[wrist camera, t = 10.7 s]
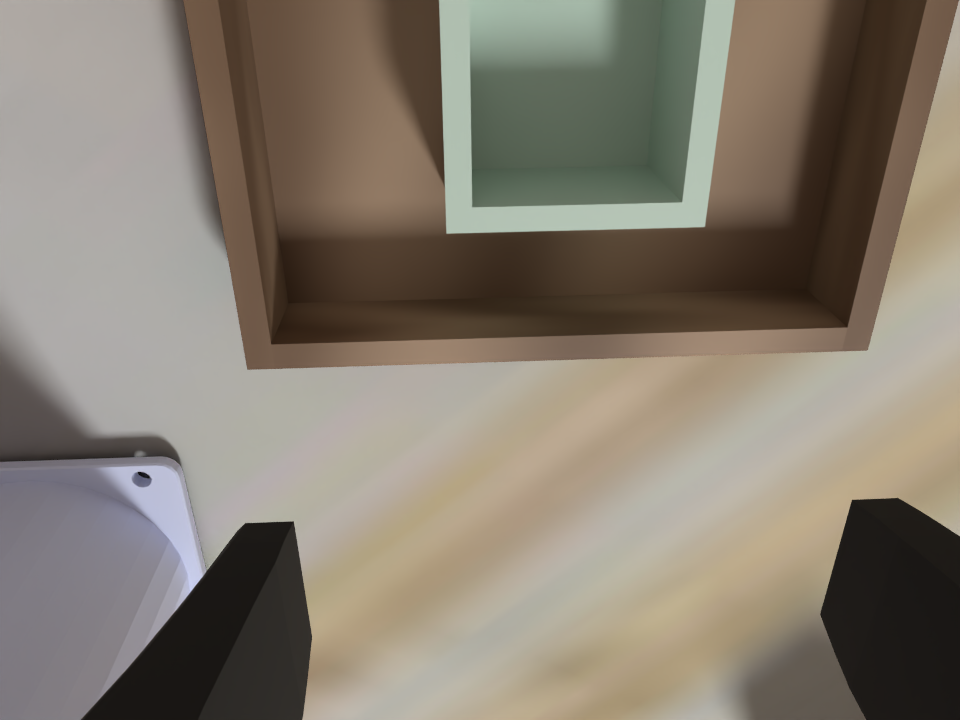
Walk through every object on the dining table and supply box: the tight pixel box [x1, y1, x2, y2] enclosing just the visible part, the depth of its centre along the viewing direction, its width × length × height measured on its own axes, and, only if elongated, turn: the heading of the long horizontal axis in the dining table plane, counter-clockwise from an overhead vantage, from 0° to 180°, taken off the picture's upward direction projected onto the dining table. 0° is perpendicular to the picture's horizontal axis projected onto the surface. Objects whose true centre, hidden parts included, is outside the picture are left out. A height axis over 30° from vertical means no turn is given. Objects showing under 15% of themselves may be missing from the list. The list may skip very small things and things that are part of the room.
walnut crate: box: [183, 0, 959, 370], centre depth 15 cm, size 14×14×3 cm
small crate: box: [439, 0, 735, 234], centre depth 15 cm, size 5×7×3 cm
